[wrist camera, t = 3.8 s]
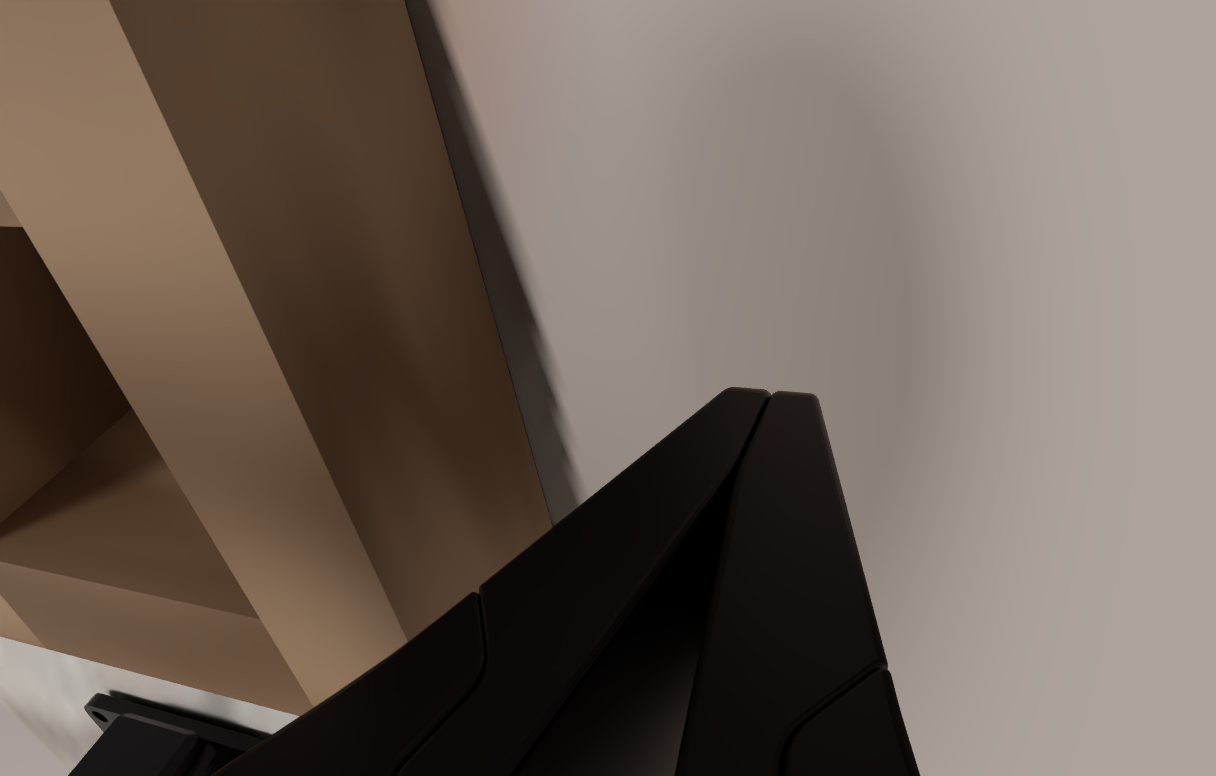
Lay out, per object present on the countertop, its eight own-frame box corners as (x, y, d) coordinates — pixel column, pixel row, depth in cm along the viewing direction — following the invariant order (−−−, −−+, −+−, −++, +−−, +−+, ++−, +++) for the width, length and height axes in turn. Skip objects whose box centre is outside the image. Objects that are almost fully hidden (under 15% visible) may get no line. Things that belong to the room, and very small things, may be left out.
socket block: (562, 560, 14) (462, 758, 12) (103, 484, 18) (-47, 624, 16) (358, -164, 9) (75, -74, 6) (-263, -61, 12) (-601, 23, 10)
